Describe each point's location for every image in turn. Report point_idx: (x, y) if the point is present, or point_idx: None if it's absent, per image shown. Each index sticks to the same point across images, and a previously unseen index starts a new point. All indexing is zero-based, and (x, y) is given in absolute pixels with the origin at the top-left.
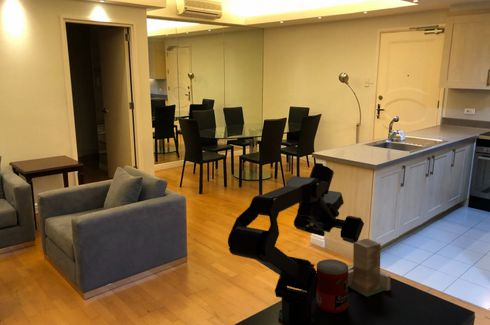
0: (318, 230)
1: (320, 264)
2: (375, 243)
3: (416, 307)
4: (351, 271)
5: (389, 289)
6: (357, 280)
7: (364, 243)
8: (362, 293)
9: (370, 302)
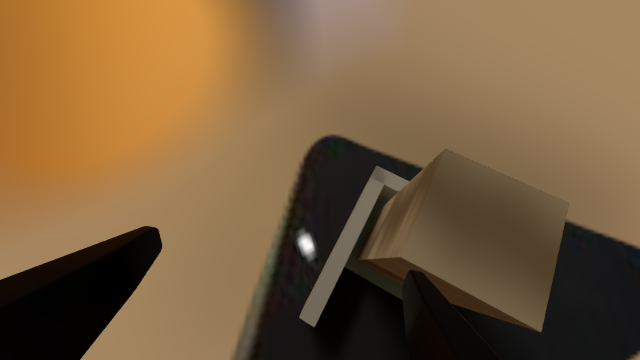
0: (56, 338)
1: None
2: (539, 212)
3: (560, 298)
4: (350, 246)
5: None
6: (378, 270)
7: (479, 248)
8: (398, 296)
9: None
